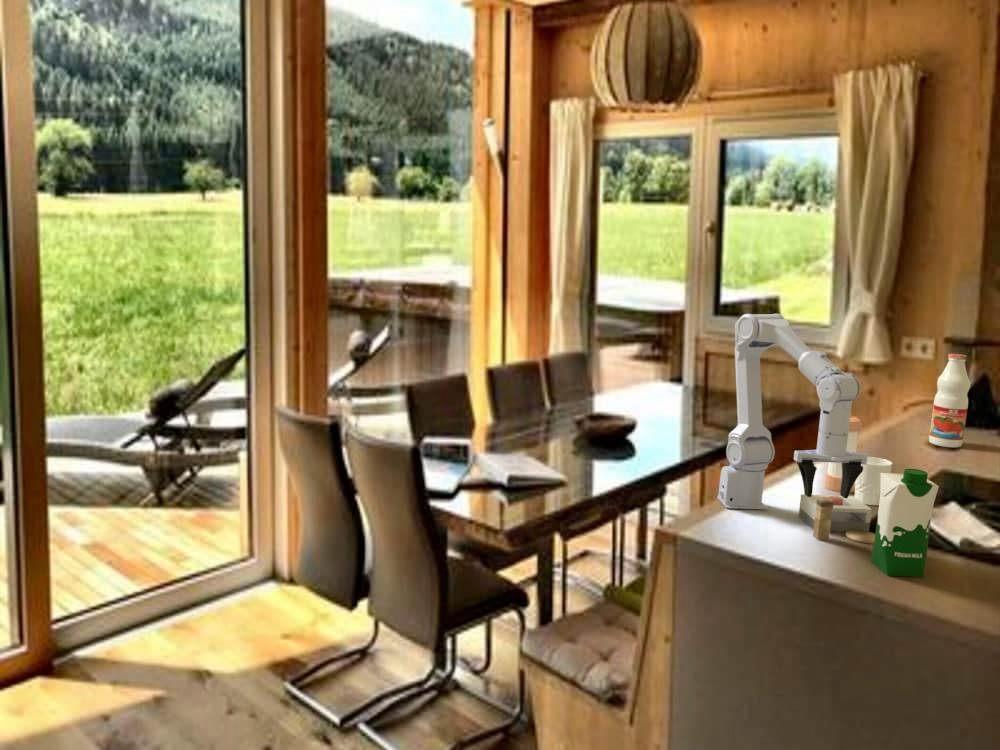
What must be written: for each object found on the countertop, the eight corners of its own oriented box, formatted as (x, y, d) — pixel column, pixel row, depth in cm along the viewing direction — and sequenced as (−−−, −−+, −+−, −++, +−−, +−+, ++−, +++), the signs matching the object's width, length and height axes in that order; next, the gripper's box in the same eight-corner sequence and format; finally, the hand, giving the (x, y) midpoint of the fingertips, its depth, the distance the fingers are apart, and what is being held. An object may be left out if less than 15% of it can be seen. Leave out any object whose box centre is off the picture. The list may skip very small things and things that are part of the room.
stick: (817, 540, 188) (821, 500, 186) (812, 535, 190) (817, 496, 188) (829, 540, 188) (833, 501, 186) (824, 536, 190) (828, 497, 189)
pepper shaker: (857, 493, 222) (867, 417, 219) (826, 490, 223) (835, 414, 220) (852, 485, 229) (861, 411, 226) (822, 482, 230) (831, 409, 227)
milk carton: (884, 577, 169) (898, 474, 165) (864, 559, 178) (876, 460, 174) (931, 579, 169) (945, 476, 166) (908, 561, 178) (921, 462, 175)
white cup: (865, 507, 212) (870, 465, 210) (844, 496, 219) (849, 456, 217) (894, 505, 214) (899, 465, 212) (872, 495, 221) (877, 456, 220)
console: (814, 529, 194) (816, 507, 193) (798, 515, 203) (801, 494, 202) (868, 531, 194) (871, 509, 193) (851, 517, 203) (853, 496, 202)
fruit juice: (959, 442, 283) (972, 354, 278) (963, 449, 274) (977, 358, 269) (926, 438, 286) (938, 351, 281) (929, 445, 277) (942, 355, 272)
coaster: (854, 543, 187) (854, 541, 187) (840, 531, 194) (840, 529, 193) (887, 544, 187) (887, 542, 187) (872, 532, 194) (872, 530, 194)
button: (830, 511, 196) (832, 500, 196) (825, 507, 199) (826, 495, 199) (844, 512, 197) (845, 500, 196) (838, 507, 199) (840, 496, 199)
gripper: (805, 435, 181) (798, 500, 183) (876, 438, 181) (868, 503, 184) (793, 427, 187) (786, 490, 190) (861, 430, 188) (853, 492, 191)
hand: (825, 496), depth 187 cm, fingers open, 7 cm apart
